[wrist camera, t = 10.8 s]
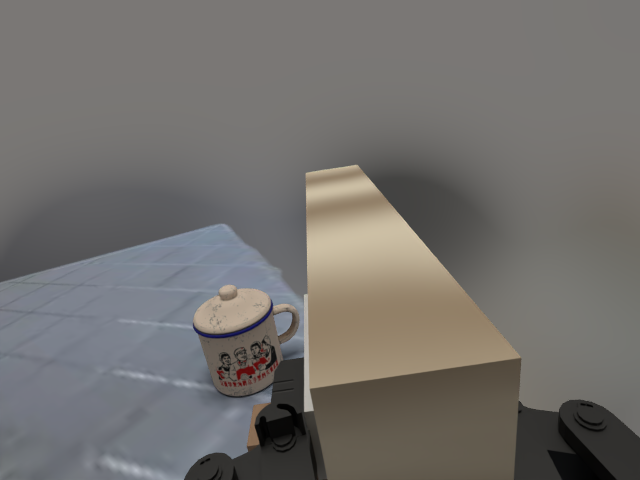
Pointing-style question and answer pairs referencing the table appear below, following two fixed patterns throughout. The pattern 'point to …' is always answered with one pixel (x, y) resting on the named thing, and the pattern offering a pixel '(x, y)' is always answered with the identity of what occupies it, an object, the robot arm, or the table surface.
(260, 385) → the teacup with lid
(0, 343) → the table surface
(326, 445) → the birch board
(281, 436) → the robot arm
